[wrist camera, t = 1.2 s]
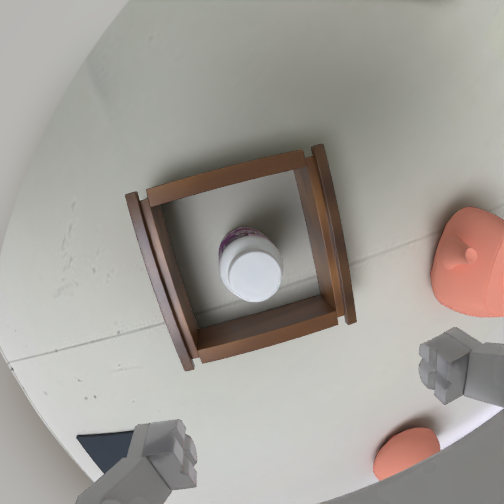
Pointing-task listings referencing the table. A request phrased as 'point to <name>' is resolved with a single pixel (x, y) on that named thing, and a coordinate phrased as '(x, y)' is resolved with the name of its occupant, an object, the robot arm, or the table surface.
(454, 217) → the teapot
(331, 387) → the table surface
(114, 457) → the coaster
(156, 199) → the wooden square frame
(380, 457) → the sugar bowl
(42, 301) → the table surface
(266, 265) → the pill bottle
